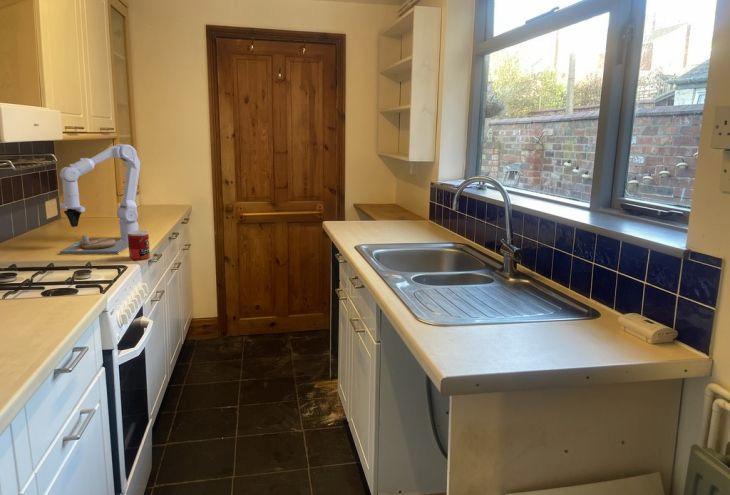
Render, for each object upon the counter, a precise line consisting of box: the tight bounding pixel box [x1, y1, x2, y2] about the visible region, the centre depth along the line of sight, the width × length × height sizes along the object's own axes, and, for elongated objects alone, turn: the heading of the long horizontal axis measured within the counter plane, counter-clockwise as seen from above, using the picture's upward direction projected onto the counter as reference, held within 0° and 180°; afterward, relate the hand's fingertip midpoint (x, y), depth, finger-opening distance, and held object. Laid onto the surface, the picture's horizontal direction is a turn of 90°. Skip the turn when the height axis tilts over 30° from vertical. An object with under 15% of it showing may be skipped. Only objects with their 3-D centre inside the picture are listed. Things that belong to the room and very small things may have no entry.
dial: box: [79, 235, 116, 249], centre depth 239 cm, size 14×14×5 cm
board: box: [60, 240, 129, 255], centre depth 239 cm, size 19×23×2 cm
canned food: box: [128, 229, 151, 262], centre depth 226 cm, size 8×8×11 cm
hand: (74, 226), depth 239 cm, fingers closed
